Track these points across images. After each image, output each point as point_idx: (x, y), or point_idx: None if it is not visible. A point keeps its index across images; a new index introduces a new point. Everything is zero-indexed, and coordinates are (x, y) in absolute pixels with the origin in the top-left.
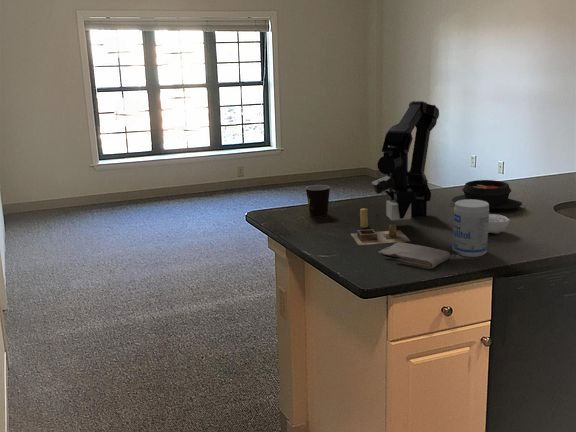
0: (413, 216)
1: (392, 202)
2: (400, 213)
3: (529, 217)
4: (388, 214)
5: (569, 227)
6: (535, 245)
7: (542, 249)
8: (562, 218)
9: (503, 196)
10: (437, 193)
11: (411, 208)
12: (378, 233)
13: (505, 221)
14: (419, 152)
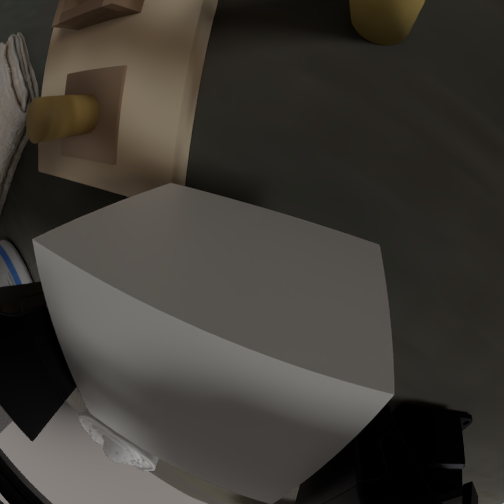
0: (402, 425)
1: (171, 373)
2: None
3: (222, 499)
4: (284, 227)
5: (151, 472)
6: None
7: None
8: (199, 499)
9: None
10: (494, 500)
11: (414, 458)
12: (156, 45)
13: (87, 431)
14: None
